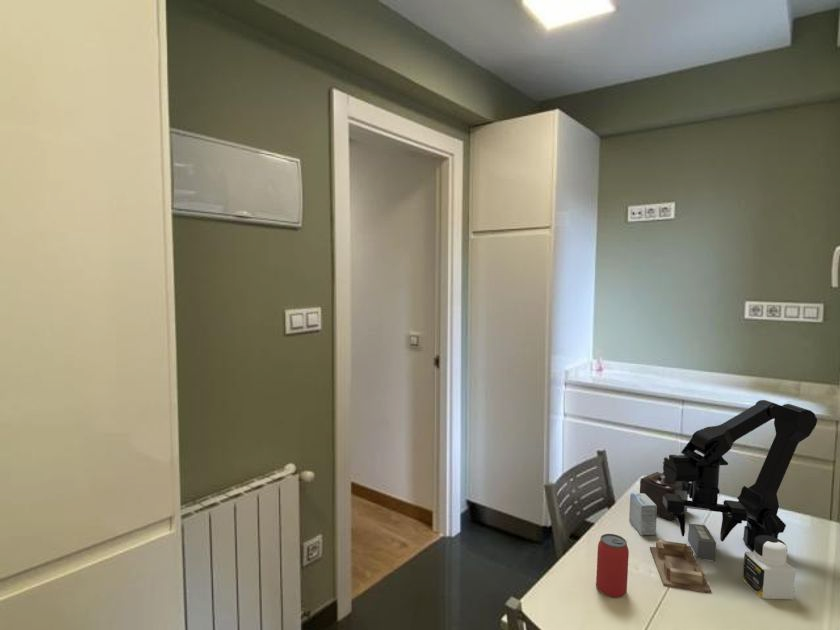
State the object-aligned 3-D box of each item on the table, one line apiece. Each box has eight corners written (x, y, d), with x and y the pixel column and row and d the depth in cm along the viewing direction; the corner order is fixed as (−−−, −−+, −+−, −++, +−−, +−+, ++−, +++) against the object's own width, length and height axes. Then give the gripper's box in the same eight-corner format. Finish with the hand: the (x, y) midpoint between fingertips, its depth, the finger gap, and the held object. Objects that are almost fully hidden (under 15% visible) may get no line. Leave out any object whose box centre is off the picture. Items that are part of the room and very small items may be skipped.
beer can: (623, 603, 109) (626, 551, 108) (592, 592, 112) (595, 542, 111) (629, 587, 114) (631, 537, 113) (599, 577, 118) (601, 529, 117)
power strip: (704, 542, 134) (705, 524, 133) (714, 561, 125) (716, 542, 125) (687, 540, 135) (688, 522, 134) (697, 559, 126) (698, 539, 126)
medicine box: (656, 535, 137) (657, 505, 136) (639, 535, 137) (641, 505, 136) (643, 521, 145) (645, 493, 144) (628, 521, 145) (630, 492, 144)
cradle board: (691, 554, 128) (692, 542, 128) (711, 593, 112) (712, 579, 112) (649, 548, 130) (650, 537, 130) (663, 585, 115) (664, 572, 115)
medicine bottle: (741, 579, 118) (745, 531, 117) (772, 580, 118) (776, 532, 116) (761, 599, 111) (765, 547, 110) (794, 600, 110) (798, 548, 109)
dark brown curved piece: (636, 508, 153) (639, 451, 151) (654, 499, 160) (657, 444, 158) (687, 529, 141) (691, 468, 139) (705, 518, 147) (709, 459, 146)
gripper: (734, 472, 134) (731, 527, 135) (659, 464, 139) (656, 518, 140) (751, 489, 123) (746, 549, 125) (669, 481, 128) (666, 538, 129)
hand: (702, 537), depth 130 cm, fingers open, 9 cm apart
